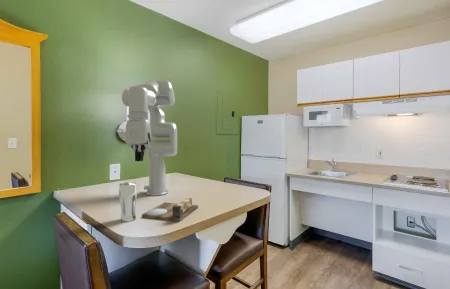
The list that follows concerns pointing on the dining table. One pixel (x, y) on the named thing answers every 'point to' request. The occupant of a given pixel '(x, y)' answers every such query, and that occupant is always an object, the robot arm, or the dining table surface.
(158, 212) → the felt pad
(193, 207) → the seat board
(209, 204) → the dining table surface
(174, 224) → the dining table surface
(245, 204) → the dining table surface
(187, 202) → the leg
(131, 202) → the beer glass
